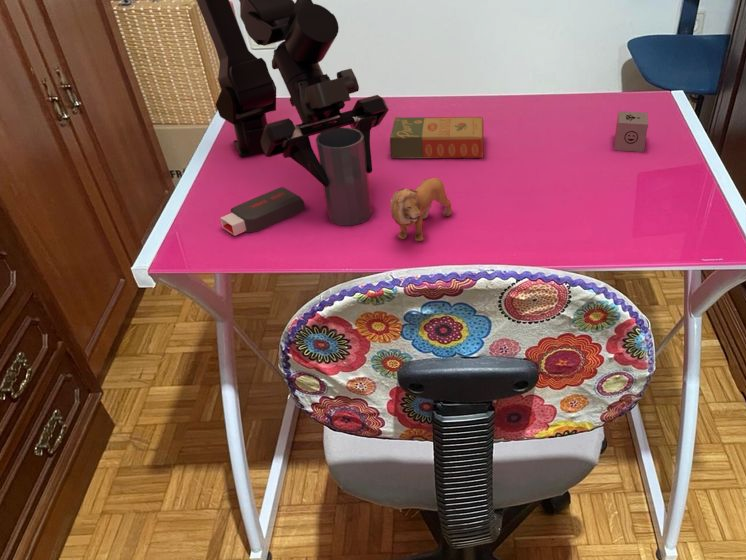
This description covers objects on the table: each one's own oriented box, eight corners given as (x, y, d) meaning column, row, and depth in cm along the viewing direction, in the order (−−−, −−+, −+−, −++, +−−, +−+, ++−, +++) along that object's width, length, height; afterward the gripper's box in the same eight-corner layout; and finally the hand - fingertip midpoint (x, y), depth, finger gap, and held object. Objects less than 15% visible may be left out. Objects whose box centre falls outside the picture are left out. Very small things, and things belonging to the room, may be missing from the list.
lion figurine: (419, 257, 102) (415, 201, 96) (385, 250, 103) (379, 194, 98) (457, 207, 112) (457, 154, 106) (426, 201, 114) (423, 148, 108)
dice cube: (614, 137, 131) (618, 111, 127) (642, 139, 130) (647, 112, 127) (614, 150, 127) (618, 122, 124) (643, 151, 126) (648, 124, 123)
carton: (482, 159, 125) (483, 135, 122) (390, 159, 125) (388, 135, 122) (483, 137, 131) (483, 115, 128) (395, 137, 131) (393, 115, 128)
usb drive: (305, 209, 112) (302, 193, 110) (238, 239, 106) (234, 223, 104) (286, 198, 115) (283, 182, 113) (219, 226, 109) (215, 210, 107)
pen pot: (324, 207, 113) (312, 131, 104) (366, 200, 114) (357, 124, 106) (333, 229, 108) (320, 151, 100) (376, 220, 109) (368, 143, 101)
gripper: (251, 66, 94) (300, 176, 95) (376, 38, 102) (421, 139, 102) (241, 105, 104) (286, 204, 105) (356, 77, 112) (397, 169, 112)
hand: (349, 178), depth 106 cm, fingers closed on pen pot, 7 cm apart
